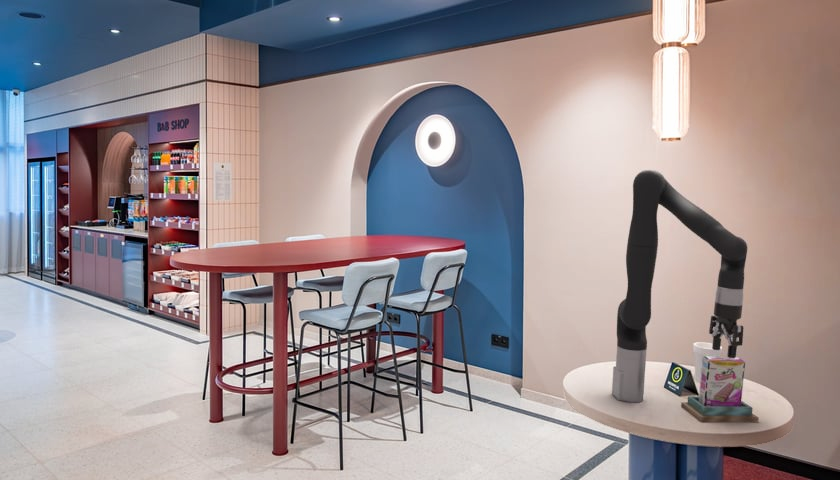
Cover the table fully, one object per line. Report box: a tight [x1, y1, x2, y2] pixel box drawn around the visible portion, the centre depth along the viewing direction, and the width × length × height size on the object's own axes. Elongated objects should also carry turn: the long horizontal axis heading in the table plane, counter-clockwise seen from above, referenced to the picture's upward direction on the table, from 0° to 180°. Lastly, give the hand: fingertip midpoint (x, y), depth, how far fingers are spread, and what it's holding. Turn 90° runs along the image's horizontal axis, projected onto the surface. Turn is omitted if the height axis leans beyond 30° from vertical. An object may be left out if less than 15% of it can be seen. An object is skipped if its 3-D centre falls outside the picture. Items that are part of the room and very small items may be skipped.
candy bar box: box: [698, 356, 746, 406], centre depth 186 cm, size 11×5×16 cm, turn 87°
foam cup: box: [692, 341, 723, 382], centre depth 219 cm, size 10×9×13 cm
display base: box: [680, 395, 759, 423], centre depth 187 cm, size 18×12×4 cm, turn 93°
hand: (723, 353), depth 185 cm, fingers open, 8 cm apart
